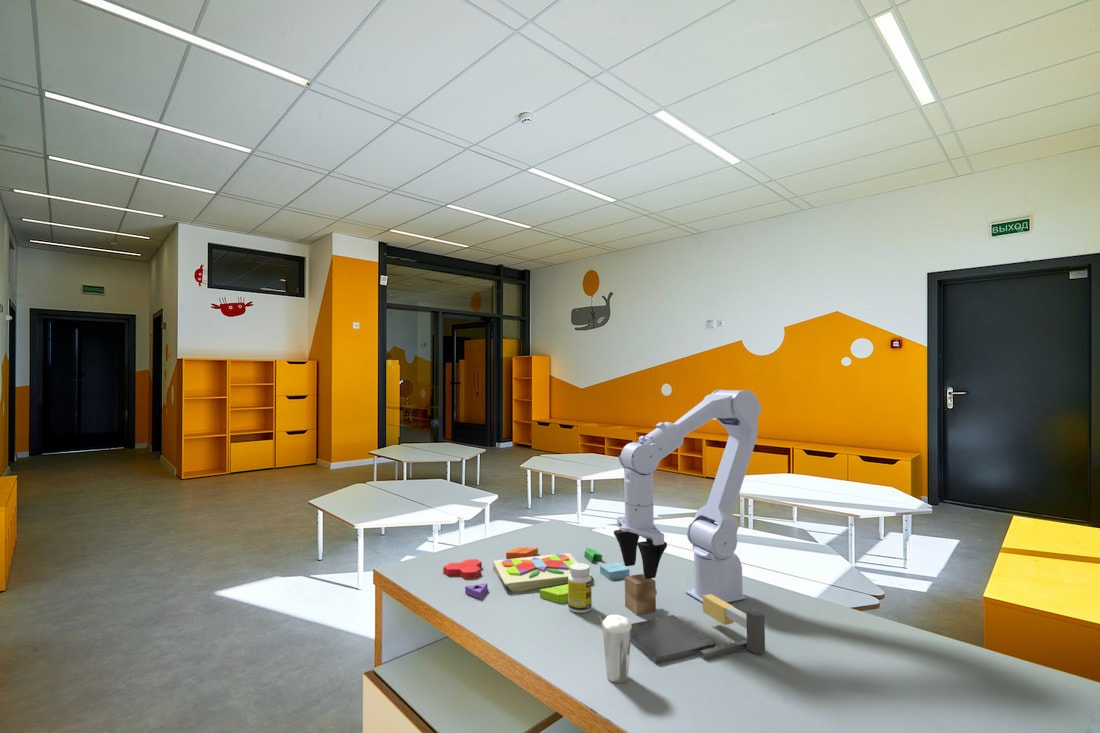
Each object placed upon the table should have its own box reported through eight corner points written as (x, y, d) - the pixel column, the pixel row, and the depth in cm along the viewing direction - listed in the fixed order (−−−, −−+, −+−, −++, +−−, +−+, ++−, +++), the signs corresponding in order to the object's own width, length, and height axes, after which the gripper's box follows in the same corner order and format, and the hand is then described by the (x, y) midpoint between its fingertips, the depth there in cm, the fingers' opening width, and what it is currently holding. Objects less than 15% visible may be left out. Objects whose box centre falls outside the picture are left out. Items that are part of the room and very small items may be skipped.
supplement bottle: (590, 614, 105) (589, 571, 105) (566, 612, 106) (565, 569, 106) (593, 604, 110) (592, 562, 110) (570, 602, 111) (569, 561, 111)
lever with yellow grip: (711, 618, 102) (711, 586, 102) (765, 651, 90) (764, 614, 90) (703, 620, 101) (702, 587, 101) (755, 653, 89) (755, 616, 89)
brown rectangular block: (648, 602, 111) (648, 572, 111) (661, 610, 107) (660, 580, 107) (625, 606, 109) (624, 576, 109) (636, 615, 105) (636, 584, 105)
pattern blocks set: (568, 545, 151) (568, 534, 151) (648, 583, 122) (648, 569, 123) (437, 570, 131) (437, 558, 132) (496, 623, 103) (496, 607, 103)
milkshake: (592, 674, 84) (592, 609, 84) (622, 667, 86) (621, 603, 86) (607, 690, 79) (606, 621, 80) (638, 681, 82) (637, 615, 82)
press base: (707, 613, 105) (707, 607, 105) (760, 645, 92) (760, 639, 92) (618, 632, 98) (618, 626, 98) (662, 670, 85) (662, 663, 85)
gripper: (604, 497, 113) (604, 562, 113) (641, 513, 100) (642, 587, 100) (633, 494, 116) (633, 558, 116) (673, 509, 103) (673, 581, 102)
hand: (639, 571), depth 108 cm, fingers open, 7 cm apart
